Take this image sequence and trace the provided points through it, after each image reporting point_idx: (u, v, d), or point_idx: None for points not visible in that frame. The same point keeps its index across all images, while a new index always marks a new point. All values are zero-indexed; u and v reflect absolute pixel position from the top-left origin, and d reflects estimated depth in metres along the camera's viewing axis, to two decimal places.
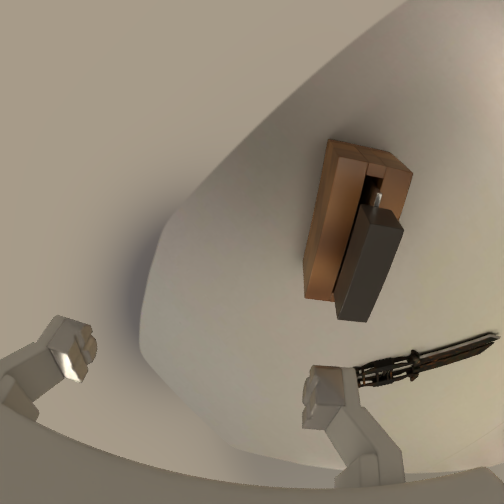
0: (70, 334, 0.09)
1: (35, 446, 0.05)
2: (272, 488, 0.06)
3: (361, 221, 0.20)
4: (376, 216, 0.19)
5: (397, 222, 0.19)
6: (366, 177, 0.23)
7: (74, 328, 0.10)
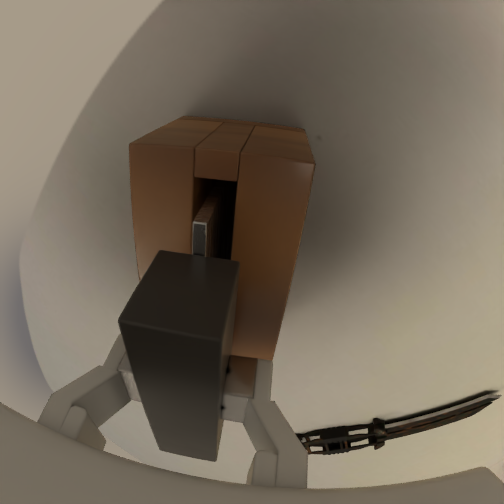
0: None
1: (35, 446, 0.05)
2: (272, 488, 0.06)
3: None
4: (164, 290, 0.07)
5: (218, 310, 0.07)
6: None
7: None
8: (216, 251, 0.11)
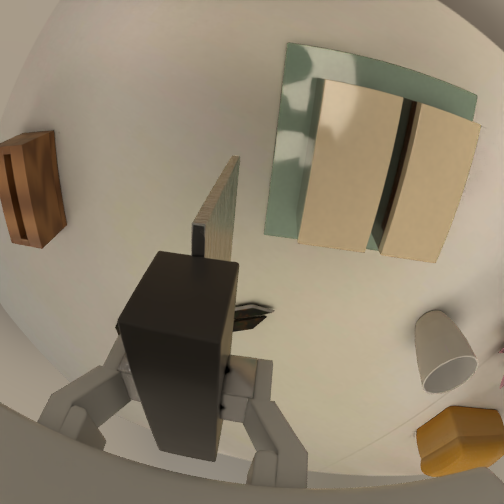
0: None
1: (35, 446, 0.05)
2: (272, 488, 0.06)
3: None
4: (163, 291, 0.07)
5: (216, 311, 0.07)
6: (216, 182, 0.11)
7: None
8: (215, 252, 0.11)
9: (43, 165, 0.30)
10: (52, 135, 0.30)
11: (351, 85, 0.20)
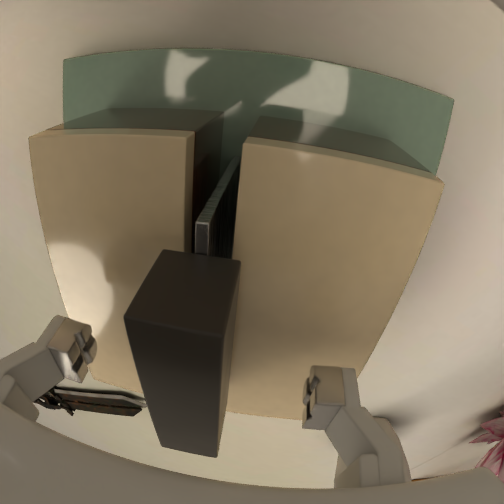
0: (70, 334, 0.09)
1: (35, 446, 0.05)
2: (272, 488, 0.06)
3: None
4: (167, 288, 0.08)
5: (219, 307, 0.07)
6: (219, 182, 0.12)
7: (74, 328, 0.10)
8: (218, 250, 0.11)
9: None
10: None
11: (67, 137, 0.09)
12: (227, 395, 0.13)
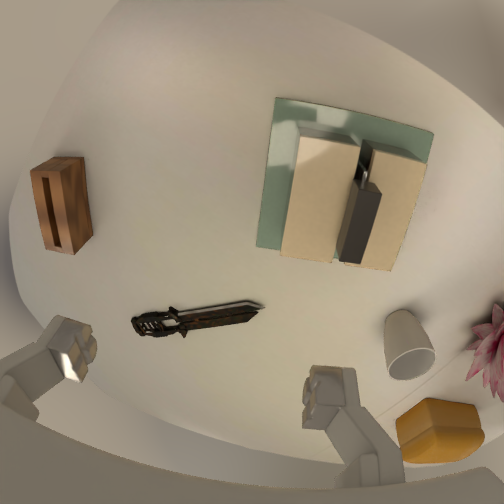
0: (70, 334, 0.09)
1: (35, 446, 0.05)
2: (272, 488, 0.06)
3: (353, 189, 0.29)
4: (363, 185, 0.28)
5: (377, 190, 0.28)
6: None
7: (74, 328, 0.10)
8: None
9: (76, 187, 0.39)
10: (82, 161, 0.39)
11: (320, 140, 0.29)
12: None
